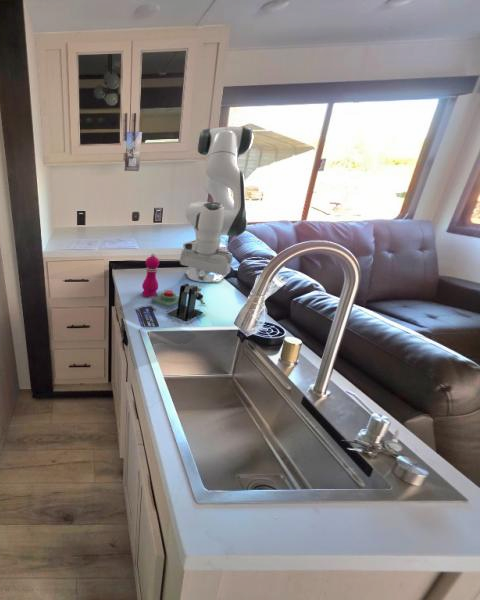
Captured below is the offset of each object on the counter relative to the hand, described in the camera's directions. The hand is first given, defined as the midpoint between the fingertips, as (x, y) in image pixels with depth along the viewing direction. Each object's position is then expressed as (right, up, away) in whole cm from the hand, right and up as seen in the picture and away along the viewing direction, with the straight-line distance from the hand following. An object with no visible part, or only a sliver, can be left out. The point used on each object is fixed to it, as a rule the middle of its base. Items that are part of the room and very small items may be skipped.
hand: (201, 280), depth 127 cm
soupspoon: (+5, -6, +19) cm, 20 cm away
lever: (-4, -7, -1) cm, 8 cm away
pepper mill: (-17, -6, +20) cm, 27 cm away
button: (-11, -6, +10) cm, 16 cm away
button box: (-11, -9, +11) cm, 18 cm away
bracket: (-7, -14, 0) cm, 16 cm away
